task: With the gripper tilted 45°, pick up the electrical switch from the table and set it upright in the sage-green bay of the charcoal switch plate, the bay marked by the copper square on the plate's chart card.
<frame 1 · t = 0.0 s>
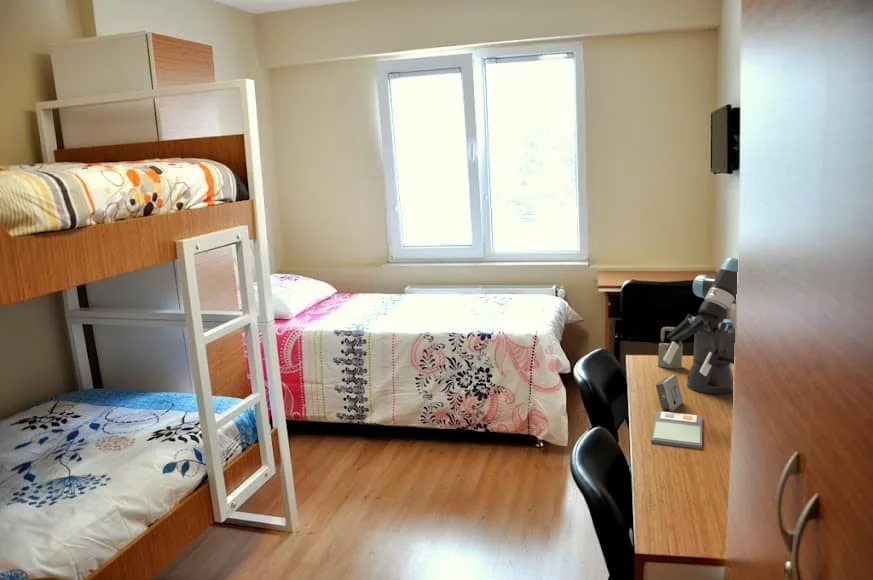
hand: (683, 367, 199), 15 cm above the table, tool tilted 35°, fingers open, 13 cm apart
switch plate: (677, 430, 192), on the table
padlock: (669, 366, 250), on the table
electrical switch: (669, 406, 211), on the table
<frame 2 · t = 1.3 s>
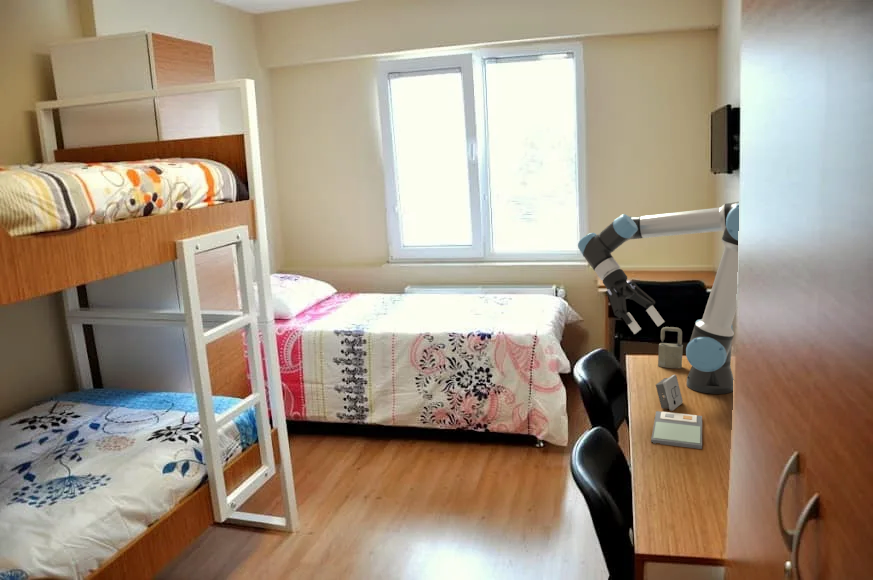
hand: (649, 327, 212), 24 cm above the table, tool tilted 45°, fingers open, 13 cm apart
nothing on the table moved.
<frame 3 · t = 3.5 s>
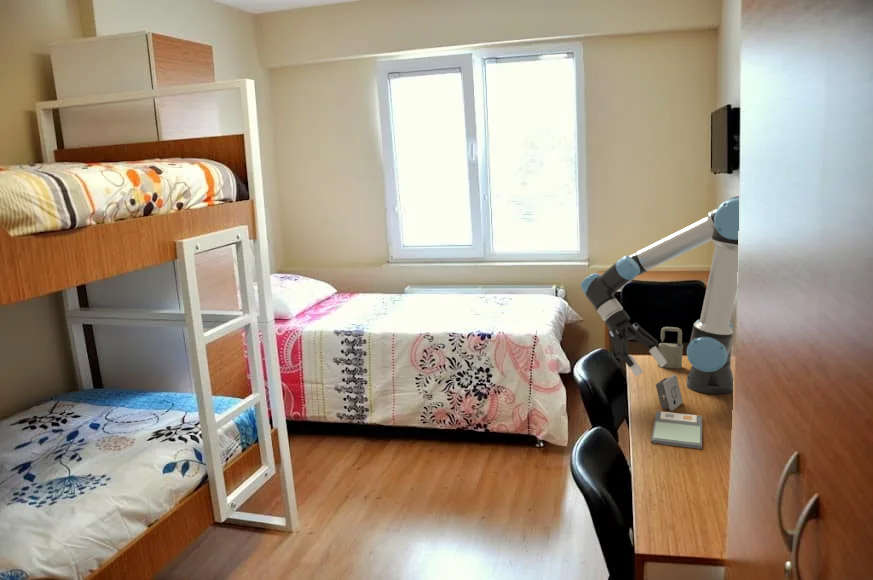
hand: (652, 369, 213), 11 cm above the table, tool tilted 45°, fingers open, 13 cm apart
nothing on the table moved.
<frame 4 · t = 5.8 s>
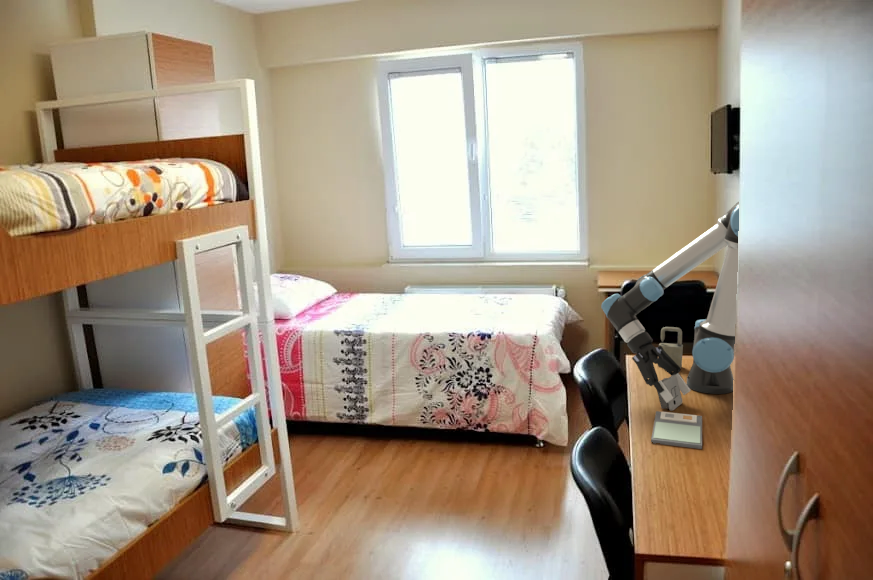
hand: (678, 396, 208), 4 cm above the table, tool tilted 45°, fingers closed on electrical switch, 9 cm apart
electrical switch: (668, 406, 211), on the table, touching gripper
everything else where it was.
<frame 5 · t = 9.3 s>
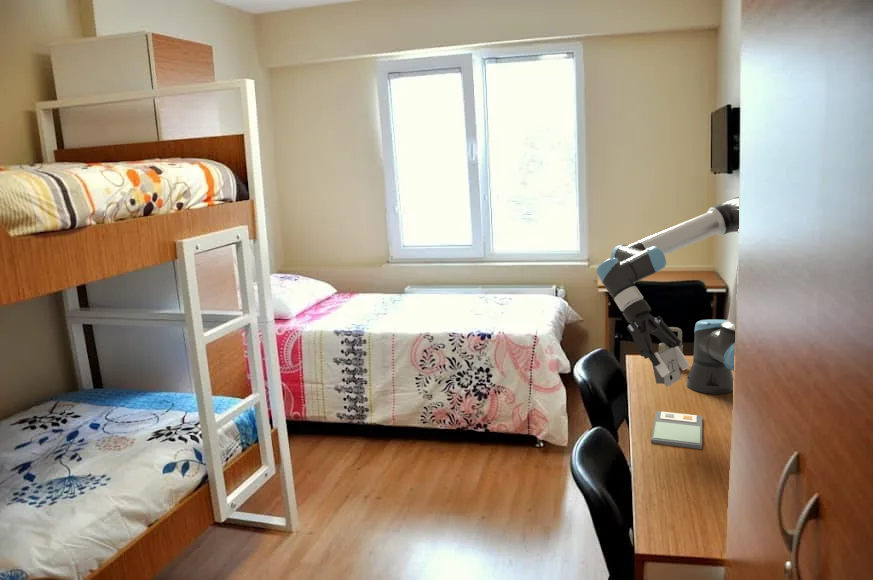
hand: (676, 371, 188), 18 cm above the table, tool tilted 45°, fingers closed on electrical switch, 9 cm apart
electrical switch: (665, 382, 191), point 14 cm above the table, touching gripper
everything else where it was.
when the fingers open (6 cm above the table, at t = 13.0 s): electrical switch drops 1 cm, resting on switch plate.
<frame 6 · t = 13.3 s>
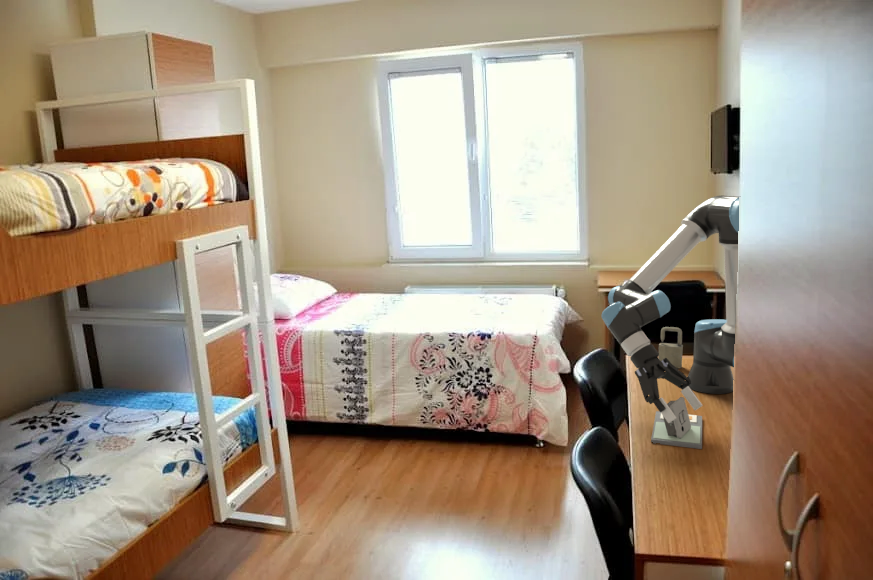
hand: (686, 414, 185), 7 cm above the table, tool tilted 45°, fingers open, 13 cm apart
electrical switch: (676, 432, 188), point 1 cm above the table, touching switch plate
everything else where it was.
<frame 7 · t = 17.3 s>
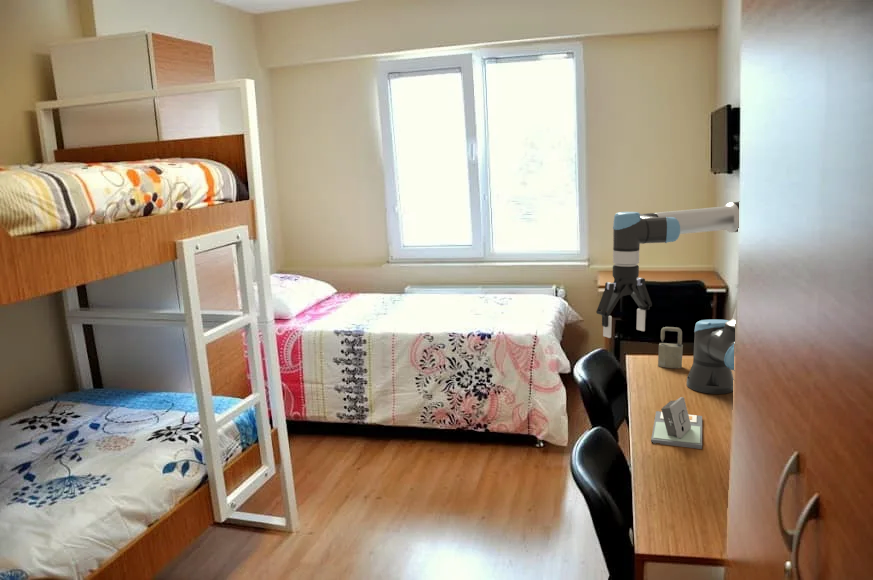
hand: (624, 333, 204), 24 cm above the table, tool pointing down, fingers open, 13 cm apart
nothing on the table moved.
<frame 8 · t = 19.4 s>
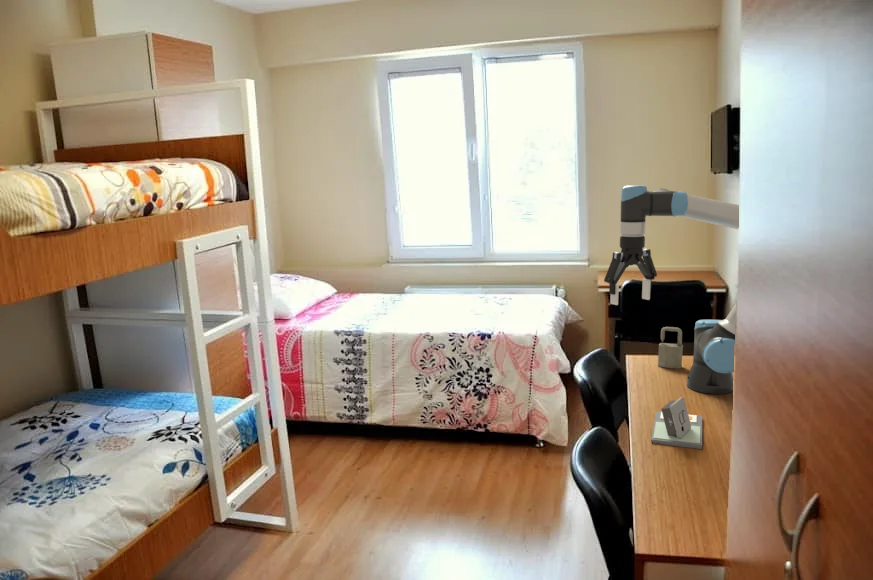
hand: (630, 301, 214), 32 cm above the table, tool pointing down, fingers open, 13 cm apart
nothing on the table moved.
at the end: electrical switch inside the target area (0.1 cm from its centre), point 1.0 cm above the table; electrical switch tilted 0°; the gripper is holding nothing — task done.
